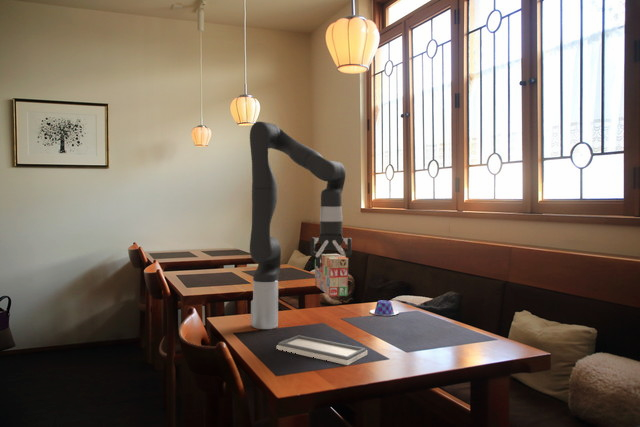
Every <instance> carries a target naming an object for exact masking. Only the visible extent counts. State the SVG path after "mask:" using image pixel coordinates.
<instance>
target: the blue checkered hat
mask: <svg viewBox="0 0 640 427" xmlns="http://www.w3.org/2000/svg"><path fill="white" fill-rule="evenodd" d="M369 313H370V314H373V315H377V316H382V317H383V316H385V317H386V316H387V317H389V316H396V315H397V314H399V311H398V310H395V309H394V308H393V304H392V302H391V301H390V300H386V299H385V300H378V301H377V302H376V305H375V308H374V309H370V310H369Z"/></svg>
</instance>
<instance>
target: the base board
mask: <svg viewBox="0 0 640 427" xmlns="http://www.w3.org/2000/svg"><path fill="white" fill-rule="evenodd" d="M277 349H278V351H282V350H283V352H286V351H287V353H291V352H292V353H291V354H295V353H296V355H301V356H305V357H309V358H313V357H314V359H318V360H323V361H326V360H327V361H328V362H332V363H337V364H339V365H344V366H349V365H350V364H352V363H354V362H356V361H358V360H360V359H361V358H364V357H365V356H367V355H368V353H369V352H368V350H367V348H365V347H361V346H356V345H350V344H346V343H340V342H335V341H331V340H325V339H320V338H315V337H309V336H306V335H299V334H298V335H295V336H293V337H290V338H287V339H284V340H282V341H279V342H278V344H277V345H276V350H277Z"/></svg>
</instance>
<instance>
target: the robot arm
mask: <svg viewBox="0 0 640 427" xmlns="http://www.w3.org/2000/svg"><path fill="white" fill-rule="evenodd" d="M249 146H250V157H251V177H252V178H251V179H252V181H251V230H250V240H249V254H250V257H251V259H252V260H253V261H254V262H255V263H257V268H256V269H255V270H254V272H253V275H252V277H253V278H252V284H253V285H252V289H253V290H252V293H253V294H252V300H251V301H250V327H253V328H255V329H257V330H272V329H276V328H277V327H278V326H279V324H278V323H279V275H280V273H281V261H282V258H281V257H282V248H281V245H280V242H279V241H278V239H276V238H275V237H273V236H271V223H272V219H273V216H274V214H275V210H276V207H277V203H278V182H277V179H276V177H275V174H274V172H273V170H272V167H271V165H270V160H269V150H270V149H272V150H277V151H278V152H282V153H284V154H285V155H287V156H288V157H289V158H290V159H291V160H292V161H293V162H294V163H296V164H297V165H298V166H300V167H302V168H304V169H305V170H307V171H309V172H310V173H311V174H312V175H314V177H316V178H317V179H319V180H320V181H324V182H327V183H326V188H324V189H323V190H321V194H320V212H319V236H318V237H314V236H313V237H311V238H310V247H309V248H310V250H309V254H310V255H311V256H313V257H314V258H315V260H316V267H318V268H320V260H321V254H323V252H324V250H325V251H330V250H331V251H338V252H339V253H340V254H339V253H338V254H339V255H342V256H345V257H346V258H349V257H351V256H352V255H353V254H352V253H353V252H352V250H353V249H352V247H353V246H352V244H353V243H352V242H353V240H352V237H343V208H342V201H343V200H342V193H343V189H344V186H345V181H346V169H345V166H344V164H343V163H341V162H339V161H338V160H337V161H335V160H330V159H326V158H324V157H323V155H322V154H321V153H319V152H318V151H316V150H315V149H313V148H311V147H309V146H307V145H305V144H303V143H301V142H299V141H297V140H296V139H294V138H293V137H291V136H290V135H289V134H288V133H286V132H285V131H284V130H283V129H281V128H280V127H279V126H278V125H276V124H273V123H270V122H266V121H255V122H254V123H253V125H252V126H251V128H250V131H249ZM318 242H319V244H320V245H321V246H320V248H319V249H318V251H316V244H317V243H318ZM343 242H345V245H347V252H345V250H344V249H343V247H342V246H341V245H342V244H343Z"/></svg>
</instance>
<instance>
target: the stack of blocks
mask: <svg viewBox="0 0 640 427" xmlns="http://www.w3.org/2000/svg"><path fill="white" fill-rule="evenodd" d="M314 277H315V278H314V282H315V283H314V284H315V286H316V287H317V288H318V289H320V290H321V291H322V292H324V293H325V295H327V296H328V297H346V296H347V297H348V293H349V291H348V288H349V287H348V285H349V284H348V282H349V278H348V277H349V257H345V256H342V255H341V254H339V253H321V255H320V268H318V267H316V259H314Z"/></svg>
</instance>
